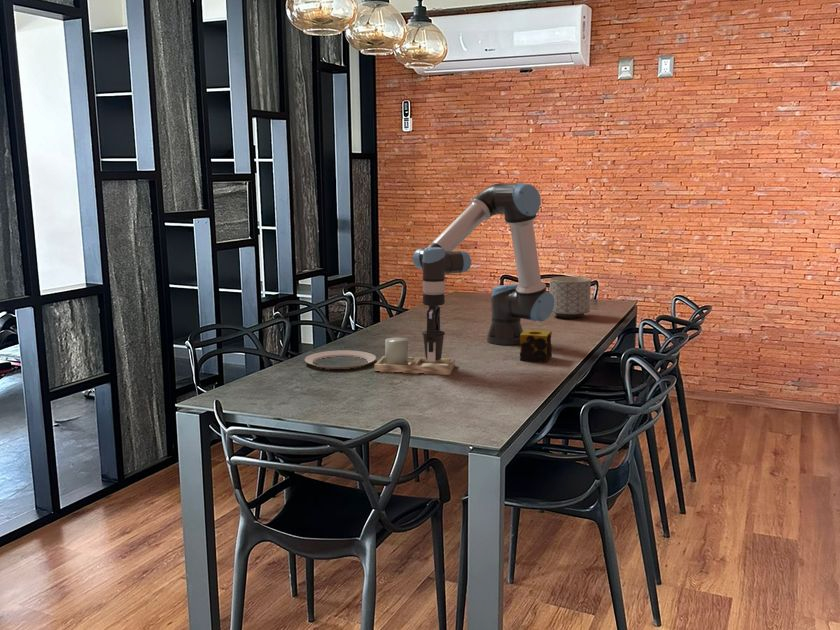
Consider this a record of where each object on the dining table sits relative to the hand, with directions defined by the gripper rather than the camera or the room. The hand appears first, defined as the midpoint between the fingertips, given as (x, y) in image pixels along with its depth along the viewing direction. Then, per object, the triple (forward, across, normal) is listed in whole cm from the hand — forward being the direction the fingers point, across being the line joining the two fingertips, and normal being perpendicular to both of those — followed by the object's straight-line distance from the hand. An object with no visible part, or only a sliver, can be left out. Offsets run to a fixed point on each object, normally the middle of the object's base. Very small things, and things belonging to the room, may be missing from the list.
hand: (433, 357), depth 269 cm
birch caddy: (+4, 0, -6) cm, 8 cm away
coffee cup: (0, 0, 0) cm, 0 cm away
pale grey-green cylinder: (+4, 0, -13) cm, 14 cm away
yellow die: (+4, -22, +35) cm, 41 cm away
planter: (+4, -112, +48) cm, 122 cm away
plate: (+5, -4, -34) cm, 35 cm away
